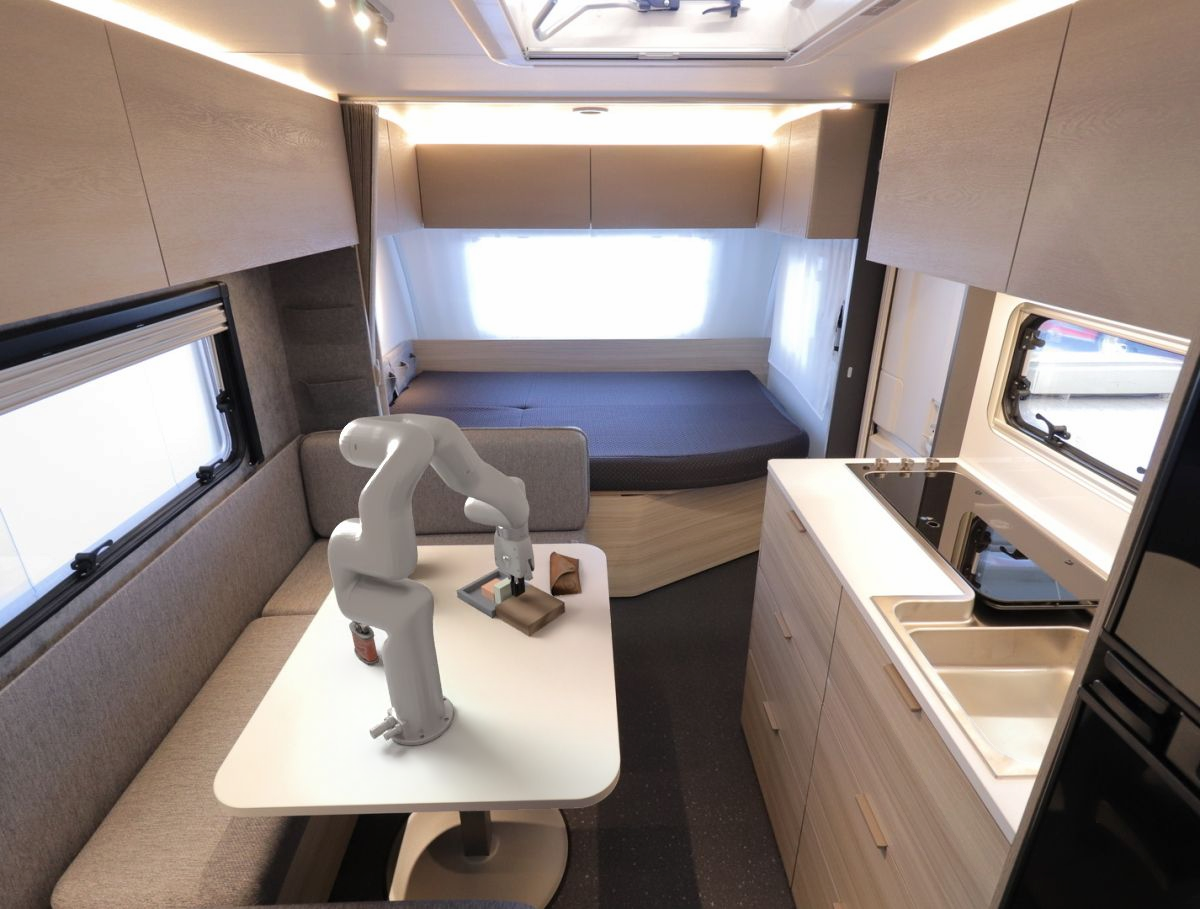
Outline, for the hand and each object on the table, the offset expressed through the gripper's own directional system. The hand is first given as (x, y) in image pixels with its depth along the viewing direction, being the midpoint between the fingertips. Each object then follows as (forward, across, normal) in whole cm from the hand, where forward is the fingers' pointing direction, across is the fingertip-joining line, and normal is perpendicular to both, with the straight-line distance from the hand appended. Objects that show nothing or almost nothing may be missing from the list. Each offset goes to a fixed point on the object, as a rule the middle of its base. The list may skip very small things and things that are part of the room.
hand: (518, 593), depth 153 cm
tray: (+4, -9, 0) cm, 10 cm away
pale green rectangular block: (+1, -4, 0) cm, 4 cm away
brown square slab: (+4, +4, 0) cm, 6 cm away
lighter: (+5, -13, -34) cm, 37 cm away
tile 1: (+2, -9, 0) cm, 9 cm away
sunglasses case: (+5, -1, +18) cm, 18 cm away
